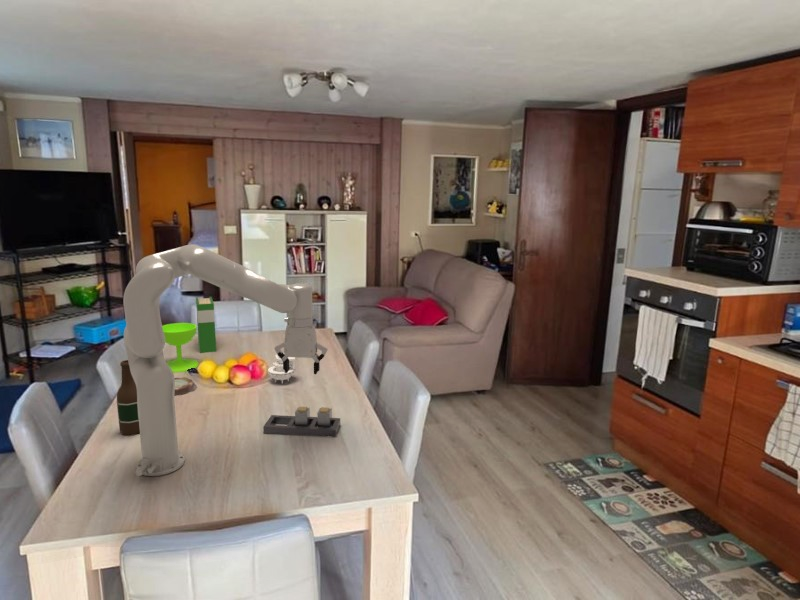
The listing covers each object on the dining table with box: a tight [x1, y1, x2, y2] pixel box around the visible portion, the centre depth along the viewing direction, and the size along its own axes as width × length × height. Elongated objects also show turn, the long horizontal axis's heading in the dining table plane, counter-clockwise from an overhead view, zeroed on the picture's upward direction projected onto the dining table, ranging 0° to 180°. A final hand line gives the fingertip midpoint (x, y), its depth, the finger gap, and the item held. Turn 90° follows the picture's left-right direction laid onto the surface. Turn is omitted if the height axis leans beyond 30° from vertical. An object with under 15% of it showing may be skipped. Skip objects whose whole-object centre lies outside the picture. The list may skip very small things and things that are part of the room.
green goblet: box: [162, 322, 200, 374], centre depth 231 cm, size 16×16×18 cm
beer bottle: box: [116, 359, 140, 436], centre depth 169 cm, size 8×8×24 cm
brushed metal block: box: [294, 406, 311, 427], centre depth 174 cm, size 4×4×8 cm
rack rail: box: [263, 414, 341, 438], centre depth 175 cm, size 24×9×2 cm, turn 87°
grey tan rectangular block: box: [316, 406, 333, 428], centre depth 174 cm, size 4×4×8 cm
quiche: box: [174, 376, 198, 397], centre depth 207 cm, size 21×20×4 cm
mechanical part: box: [267, 353, 297, 384], centre depth 217 cm, size 11×12×12 cm
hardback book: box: [195, 296, 217, 354], centre depth 258 cm, size 18×7×24 cm, turn 23°
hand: (301, 372), depth 171 cm, fingers open, 9 cm apart
